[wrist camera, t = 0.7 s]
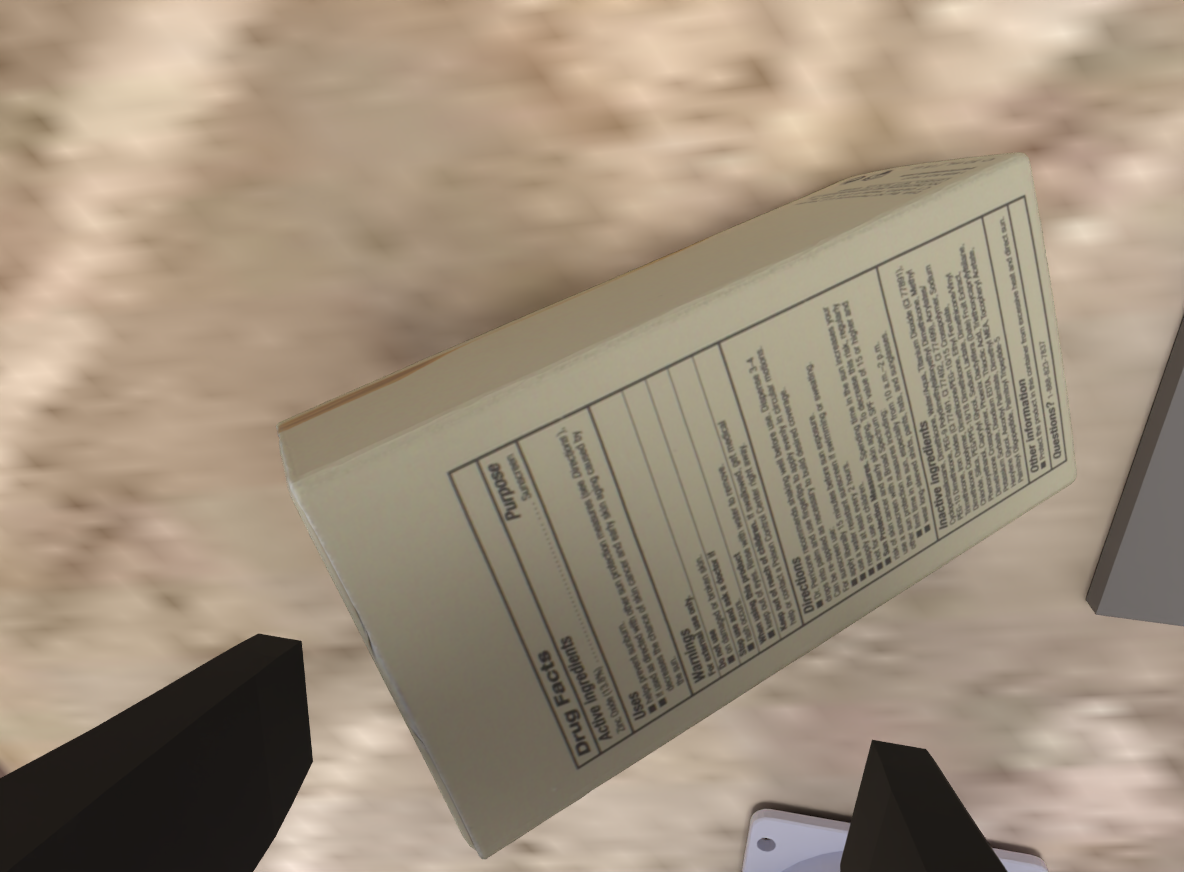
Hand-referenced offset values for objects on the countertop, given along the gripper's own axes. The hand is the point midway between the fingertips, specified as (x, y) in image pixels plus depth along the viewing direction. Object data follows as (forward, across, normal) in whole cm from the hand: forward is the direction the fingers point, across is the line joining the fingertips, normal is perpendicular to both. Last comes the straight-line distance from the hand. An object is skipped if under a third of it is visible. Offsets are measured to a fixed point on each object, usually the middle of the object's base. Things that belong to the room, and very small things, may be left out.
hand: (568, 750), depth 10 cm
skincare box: (+9, -6, -4) cm, 11 cm away
